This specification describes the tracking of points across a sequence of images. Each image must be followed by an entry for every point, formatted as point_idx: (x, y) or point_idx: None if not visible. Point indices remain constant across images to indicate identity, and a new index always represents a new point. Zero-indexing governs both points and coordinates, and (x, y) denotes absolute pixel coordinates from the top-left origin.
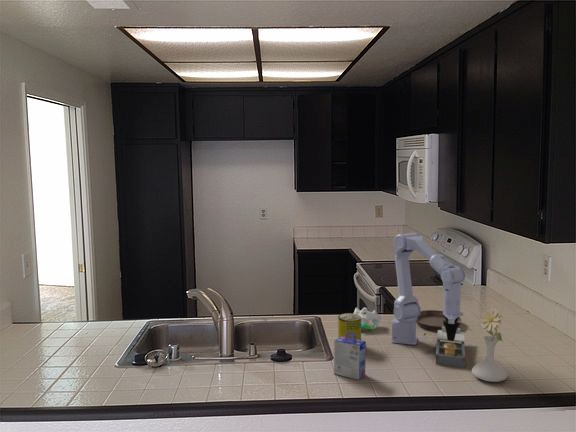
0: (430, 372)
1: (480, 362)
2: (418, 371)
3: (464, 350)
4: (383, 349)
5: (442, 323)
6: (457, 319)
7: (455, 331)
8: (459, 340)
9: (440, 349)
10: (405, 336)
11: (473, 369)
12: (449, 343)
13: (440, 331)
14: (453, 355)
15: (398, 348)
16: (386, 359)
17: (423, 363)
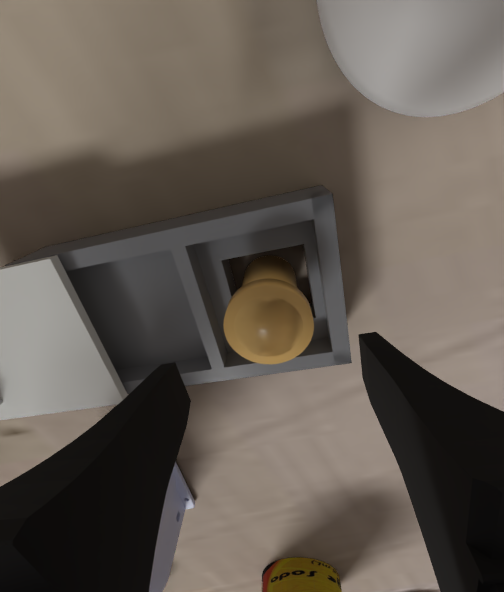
0: (455, 331)
1: (476, 24)
2: (458, 376)
3: (190, 226)
4: (275, 509)
5: None
6: (83, 476)
7: (463, 398)
8: (65, 289)
9: (224, 353)
10: (166, 501)
11: (488, 92)
12: (230, 338)
13: (9, 406)
14: (283, 275)
15: (236, 476)
16: (368, 487)
17: (353, 376)
